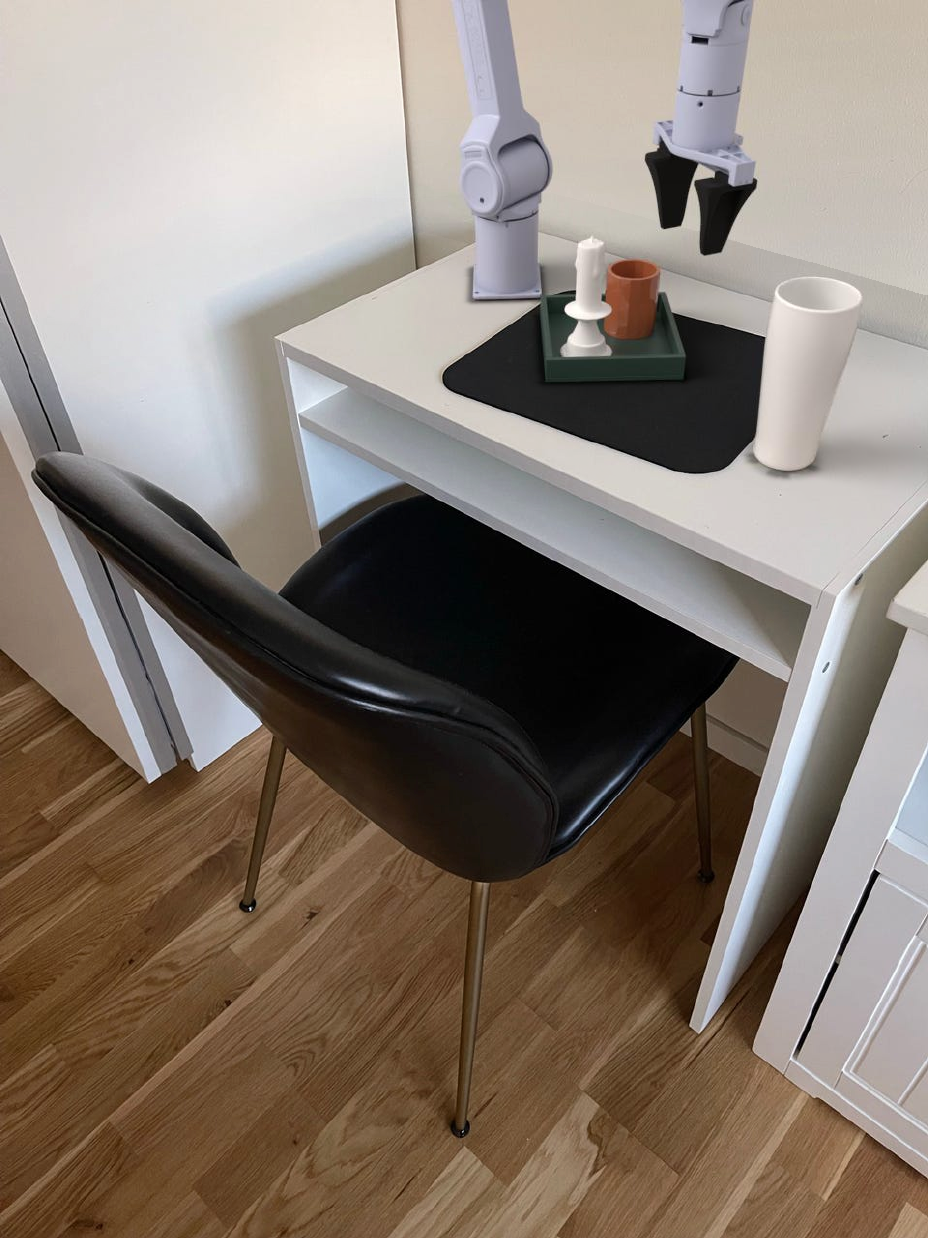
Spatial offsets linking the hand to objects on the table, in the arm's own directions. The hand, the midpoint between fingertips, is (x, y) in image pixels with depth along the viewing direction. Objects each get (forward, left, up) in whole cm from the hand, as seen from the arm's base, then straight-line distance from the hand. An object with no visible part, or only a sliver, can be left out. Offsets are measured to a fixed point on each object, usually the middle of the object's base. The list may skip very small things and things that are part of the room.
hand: (690, 239), depth 96 cm
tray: (+2, -8, -10) cm, 13 cm away
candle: (+4, -10, -10) cm, 15 cm away
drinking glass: (+24, +6, -11) cm, 27 cm away
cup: (-1, -5, -10) cm, 11 cm away
